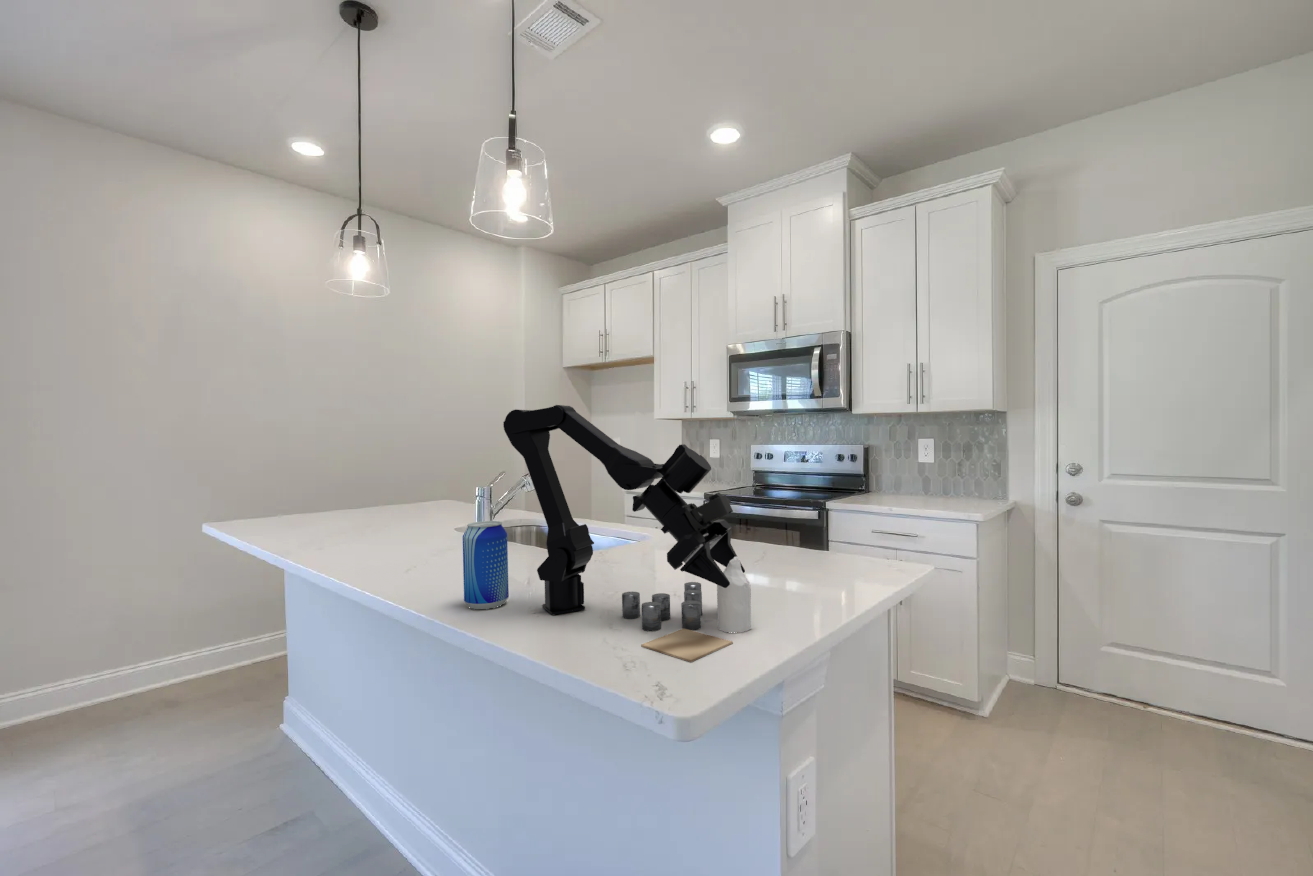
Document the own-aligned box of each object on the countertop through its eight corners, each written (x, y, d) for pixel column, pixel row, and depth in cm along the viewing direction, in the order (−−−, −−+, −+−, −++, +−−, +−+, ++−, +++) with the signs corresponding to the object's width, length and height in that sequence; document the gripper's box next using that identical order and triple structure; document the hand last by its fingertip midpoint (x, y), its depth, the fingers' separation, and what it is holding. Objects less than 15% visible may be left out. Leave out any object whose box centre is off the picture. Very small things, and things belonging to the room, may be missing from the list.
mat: (641, 646, 91) (641, 644, 91) (683, 630, 98) (683, 628, 98) (691, 662, 84) (691, 660, 84) (732, 643, 91) (732, 641, 91)
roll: (723, 551, 103) (754, 553, 101) (724, 620, 103) (756, 624, 101) (711, 558, 98) (744, 560, 95) (712, 631, 97) (745, 635, 95)
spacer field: (655, 637, 95) (655, 612, 95) (619, 615, 107) (619, 593, 107) (739, 621, 102) (738, 598, 102) (696, 602, 115) (695, 581, 115)
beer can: (485, 613, 111) (482, 527, 111) (454, 607, 115) (452, 525, 115) (517, 602, 118) (515, 521, 118) (488, 597, 122) (486, 519, 122)
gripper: (683, 483, 92) (754, 557, 88) (718, 475, 110) (780, 537, 105) (638, 532, 96) (706, 606, 91) (680, 517, 113) (738, 579, 108)
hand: (736, 579), depth 99 cm, fingers open, 9 cm apart
